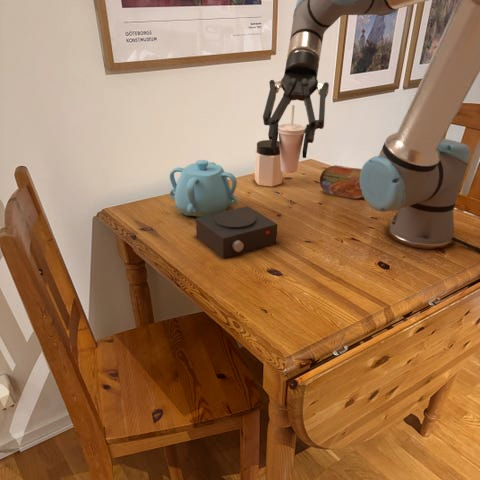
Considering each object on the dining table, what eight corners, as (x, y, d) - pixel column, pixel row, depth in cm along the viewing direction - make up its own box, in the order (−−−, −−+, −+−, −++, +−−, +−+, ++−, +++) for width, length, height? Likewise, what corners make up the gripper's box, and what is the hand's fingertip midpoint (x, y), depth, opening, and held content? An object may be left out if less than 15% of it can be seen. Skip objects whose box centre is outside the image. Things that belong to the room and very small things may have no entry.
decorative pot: (242, 218, 120) (243, 167, 112) (184, 226, 115) (181, 174, 107) (221, 197, 132) (220, 150, 124) (168, 204, 127) (164, 155, 119)
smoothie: (300, 166, 108) (305, 103, 99) (304, 175, 102) (310, 109, 94) (274, 166, 107) (277, 103, 99) (276, 175, 102) (280, 108, 94)
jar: (267, 188, 138) (269, 149, 131) (249, 182, 143) (250, 143, 136) (286, 182, 143) (289, 143, 136) (268, 176, 148) (270, 138, 141)
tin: (317, 192, 136) (321, 164, 131) (321, 189, 138) (324, 161, 133) (366, 201, 131) (371, 172, 126) (369, 198, 133) (374, 169, 128)
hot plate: (279, 245, 107) (280, 223, 104) (226, 260, 100) (225, 238, 97) (247, 224, 117) (247, 203, 113) (196, 237, 110) (195, 215, 107)
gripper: (344, 74, 104) (331, 165, 101) (263, 71, 108) (248, 159, 104) (347, 50, 97) (333, 147, 94) (259, 47, 100) (243, 141, 97)
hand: (288, 153), depth 99 cm, fingers closed on smoothie, 6 cm apart
